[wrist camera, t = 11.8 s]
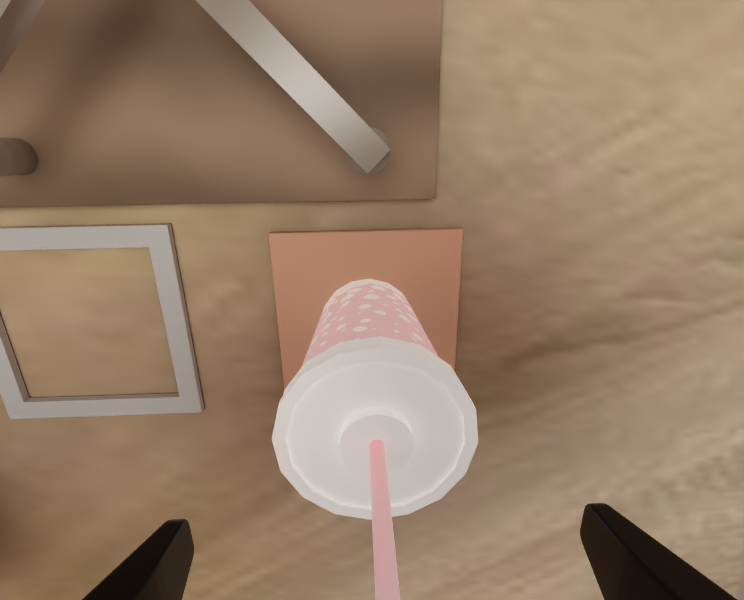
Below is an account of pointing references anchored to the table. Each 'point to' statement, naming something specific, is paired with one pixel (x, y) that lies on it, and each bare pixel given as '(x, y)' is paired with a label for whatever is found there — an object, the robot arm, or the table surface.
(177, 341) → the frame
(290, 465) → the beverage cup
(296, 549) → the table surface
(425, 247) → the end mat
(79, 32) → the wire board
